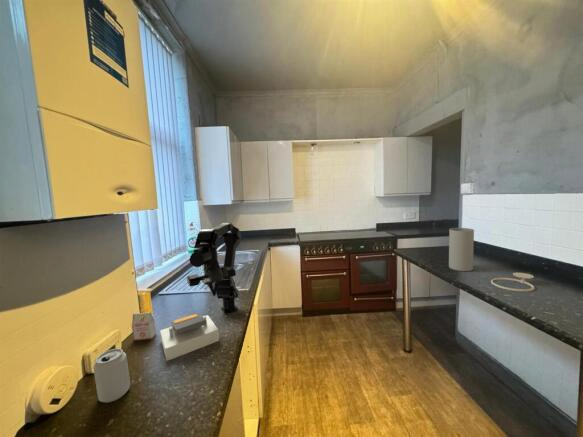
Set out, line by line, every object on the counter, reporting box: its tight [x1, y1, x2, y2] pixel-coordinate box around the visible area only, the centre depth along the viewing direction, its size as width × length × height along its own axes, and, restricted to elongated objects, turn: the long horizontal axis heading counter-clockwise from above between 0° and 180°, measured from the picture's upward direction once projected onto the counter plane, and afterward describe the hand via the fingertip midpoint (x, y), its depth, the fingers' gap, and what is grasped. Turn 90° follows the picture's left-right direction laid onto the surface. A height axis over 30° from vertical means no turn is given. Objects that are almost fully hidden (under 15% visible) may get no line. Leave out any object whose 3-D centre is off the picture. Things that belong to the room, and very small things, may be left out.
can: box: [92, 348, 131, 403], centre depth 69 cm, size 8×8×12 cm
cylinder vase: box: [448, 227, 475, 272], centre depth 153 cm, size 12×12×25 cm
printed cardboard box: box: [131, 312, 157, 341], centre depth 98 cm, size 4×7×10 cm, turn 94°
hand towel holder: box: [490, 272, 536, 293], centre depth 127 cm, size 17×4×21 cm
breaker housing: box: [159, 314, 220, 362], centre depth 93 cm, size 14×18×8 cm
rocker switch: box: [170, 313, 206, 334], centre depth 93 cm, size 14×10×2 cm
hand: (214, 295), depth 103 cm, fingers closed
